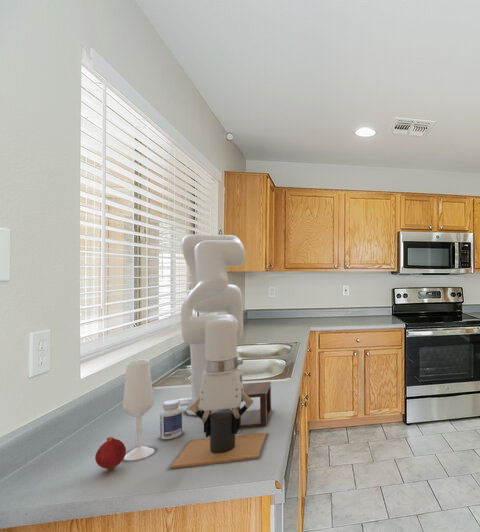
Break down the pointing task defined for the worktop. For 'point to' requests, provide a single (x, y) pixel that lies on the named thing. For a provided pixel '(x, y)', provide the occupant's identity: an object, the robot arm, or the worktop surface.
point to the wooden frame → (260, 416)
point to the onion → (110, 453)
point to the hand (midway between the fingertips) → (222, 432)
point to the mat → (201, 454)
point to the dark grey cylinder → (221, 431)
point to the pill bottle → (171, 420)
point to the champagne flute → (138, 402)
